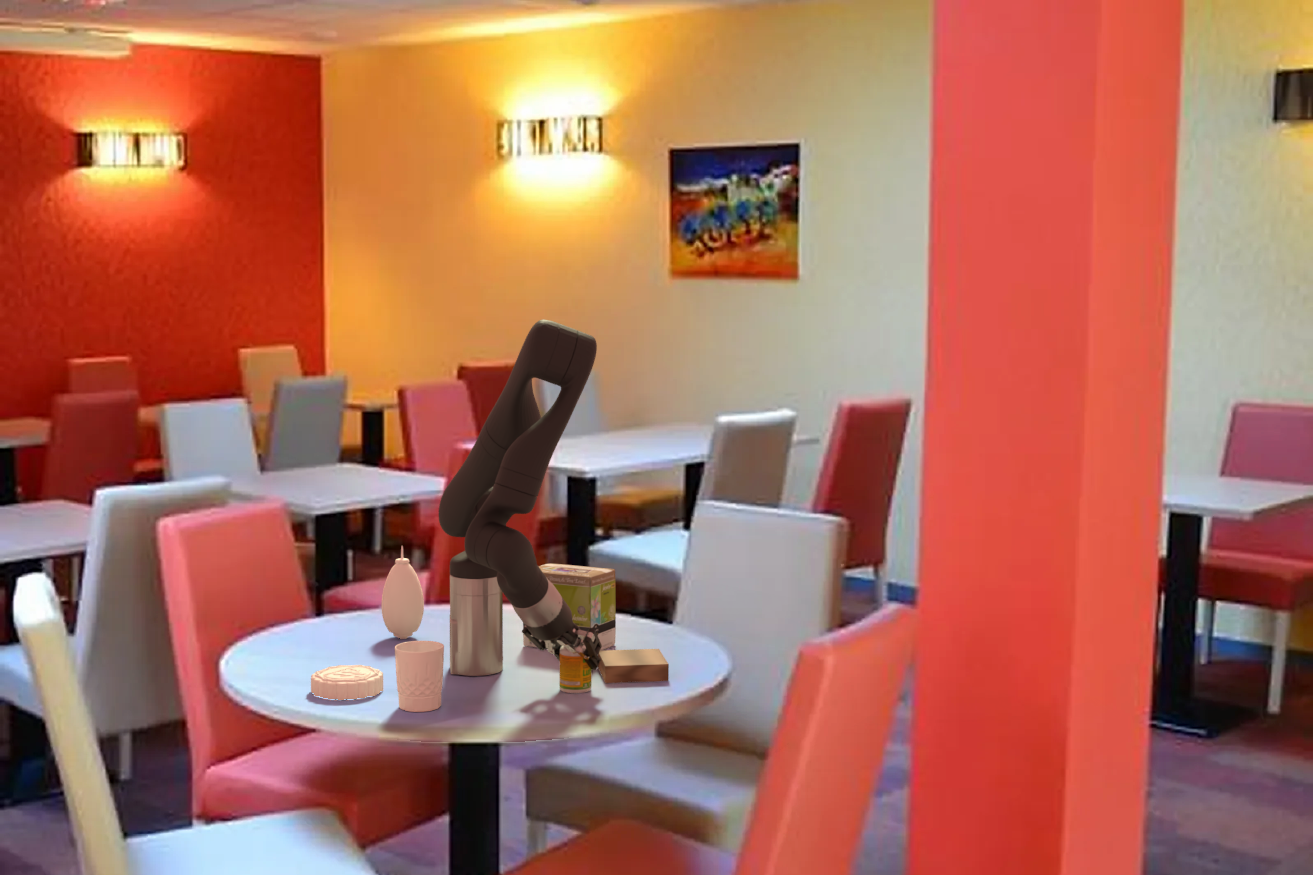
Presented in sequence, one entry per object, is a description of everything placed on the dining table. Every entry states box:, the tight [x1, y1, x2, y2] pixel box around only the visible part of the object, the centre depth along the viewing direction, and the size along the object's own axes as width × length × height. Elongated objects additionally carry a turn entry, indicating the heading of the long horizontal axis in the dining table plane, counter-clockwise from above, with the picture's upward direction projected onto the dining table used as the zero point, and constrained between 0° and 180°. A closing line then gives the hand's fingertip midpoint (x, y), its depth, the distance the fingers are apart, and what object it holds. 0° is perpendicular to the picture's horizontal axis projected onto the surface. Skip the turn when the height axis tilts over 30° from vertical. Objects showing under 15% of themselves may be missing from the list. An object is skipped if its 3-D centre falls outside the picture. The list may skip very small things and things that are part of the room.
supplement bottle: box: [558, 638, 592, 694], centre depth 267 cm, size 5×5×10 cm
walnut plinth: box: [597, 648, 670, 684], centre depth 278 cm, size 11×11×3 cm
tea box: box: [522, 562, 617, 651], centre depth 297 cm, size 15×10×15 cm
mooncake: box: [310, 664, 384, 700], centre depth 265 cm, size 12×12×4 cm
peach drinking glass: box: [394, 640, 445, 713], centre depth 256 cm, size 8×8×10 cm
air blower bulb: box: [381, 545, 425, 640], centre depth 302 cm, size 8×8×18 cm
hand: (581, 662), depth 268 cm, fingers closed on supplement bottle, 5 cm apart
